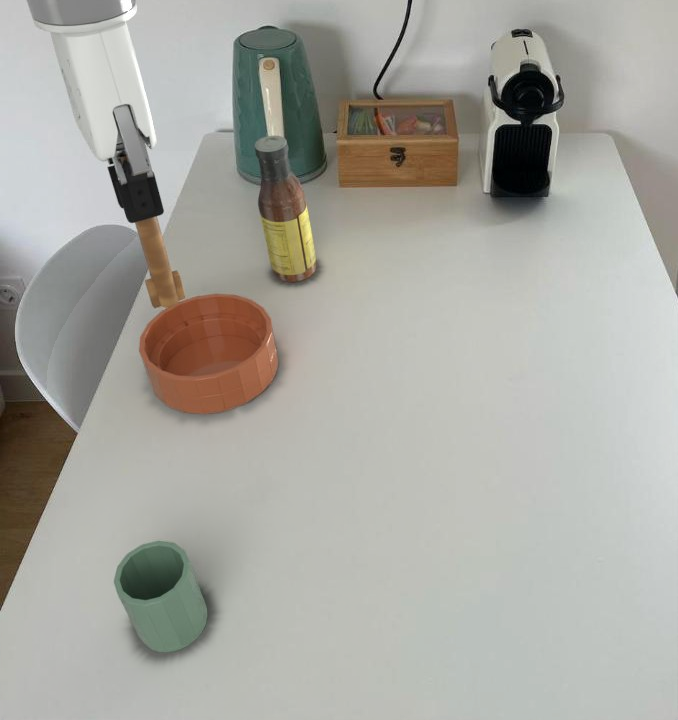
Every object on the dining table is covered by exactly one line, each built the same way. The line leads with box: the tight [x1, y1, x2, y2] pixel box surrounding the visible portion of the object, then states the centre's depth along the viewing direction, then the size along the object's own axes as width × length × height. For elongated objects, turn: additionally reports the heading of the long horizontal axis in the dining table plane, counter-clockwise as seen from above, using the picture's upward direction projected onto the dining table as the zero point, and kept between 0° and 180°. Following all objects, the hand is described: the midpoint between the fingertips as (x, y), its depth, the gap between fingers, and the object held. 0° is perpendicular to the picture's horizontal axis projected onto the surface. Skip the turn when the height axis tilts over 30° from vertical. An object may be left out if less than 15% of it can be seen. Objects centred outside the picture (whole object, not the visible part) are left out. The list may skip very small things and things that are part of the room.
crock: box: [113, 540, 208, 653], centre depth 71 cm, size 6×6×8 cm
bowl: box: [138, 293, 279, 415], centre depth 96 cm, size 15×15×6 cm
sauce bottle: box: [254, 135, 317, 283], centre depth 106 cm, size 6×6×20 cm
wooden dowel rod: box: [120, 156, 187, 309], centre depth 74 cm, size 3×2×16 cm, turn 119°
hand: (141, 209), depth 72 cm, fingers closed on wooden dowel rod, 2 cm apart
